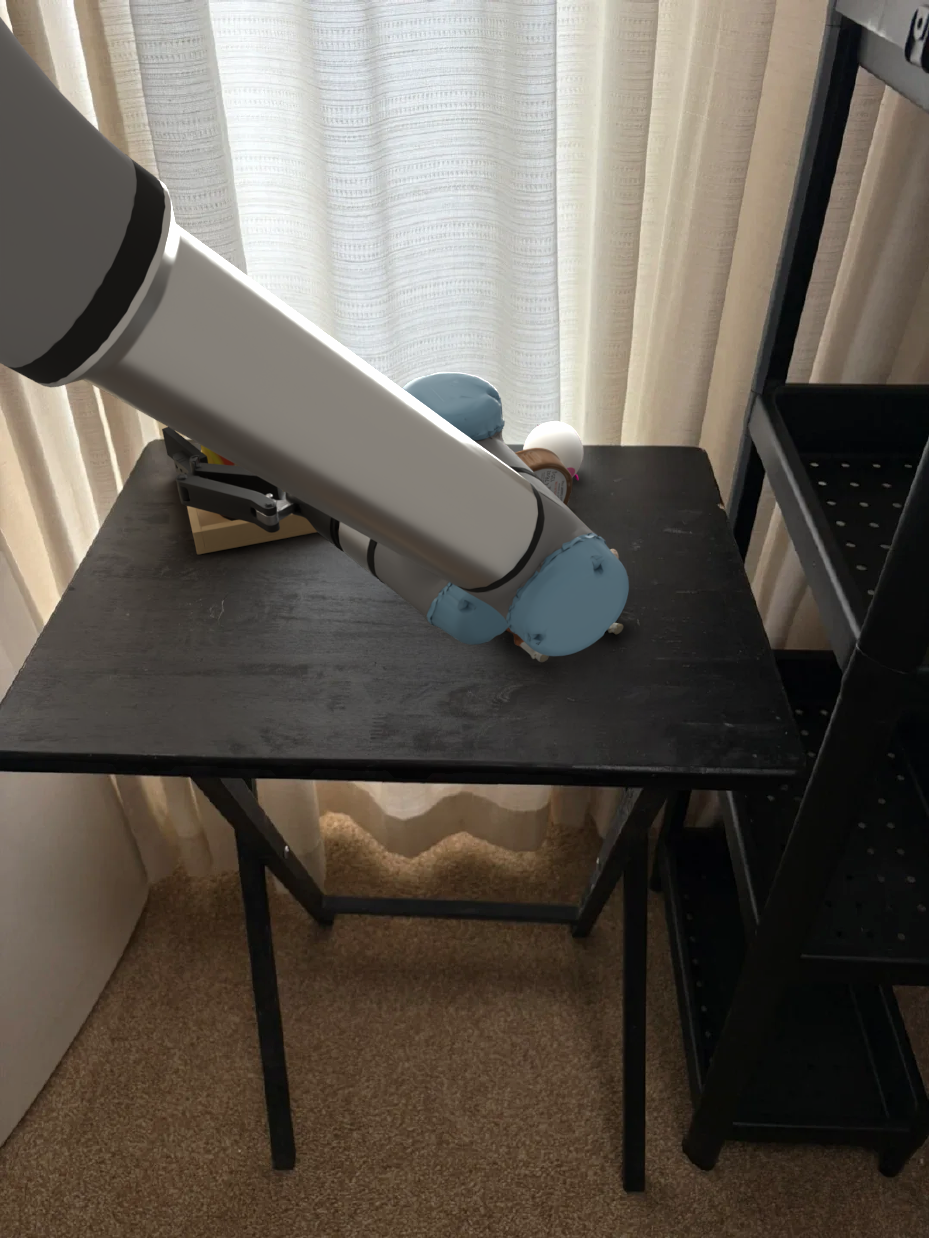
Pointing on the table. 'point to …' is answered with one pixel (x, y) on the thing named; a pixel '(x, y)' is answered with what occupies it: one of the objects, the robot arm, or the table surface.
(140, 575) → the table surface
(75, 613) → the table surface
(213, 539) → the serving tray
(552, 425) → the stress ball
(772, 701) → the table surface
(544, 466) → the tin
